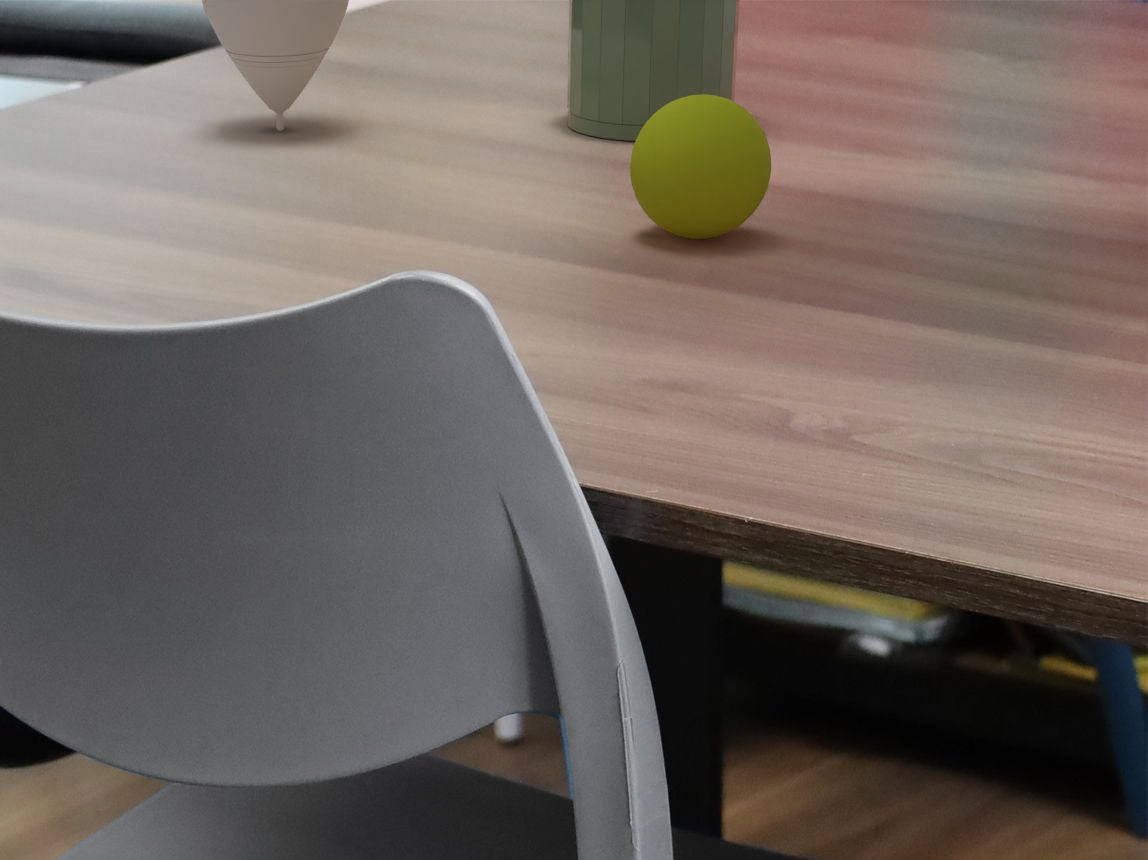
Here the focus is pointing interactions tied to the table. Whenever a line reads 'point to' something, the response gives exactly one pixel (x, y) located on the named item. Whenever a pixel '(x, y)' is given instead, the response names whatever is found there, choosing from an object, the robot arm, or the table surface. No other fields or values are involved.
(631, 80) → the green cylinder
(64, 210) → the table surface
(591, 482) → the table surface
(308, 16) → the spinning top
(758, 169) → the ball
